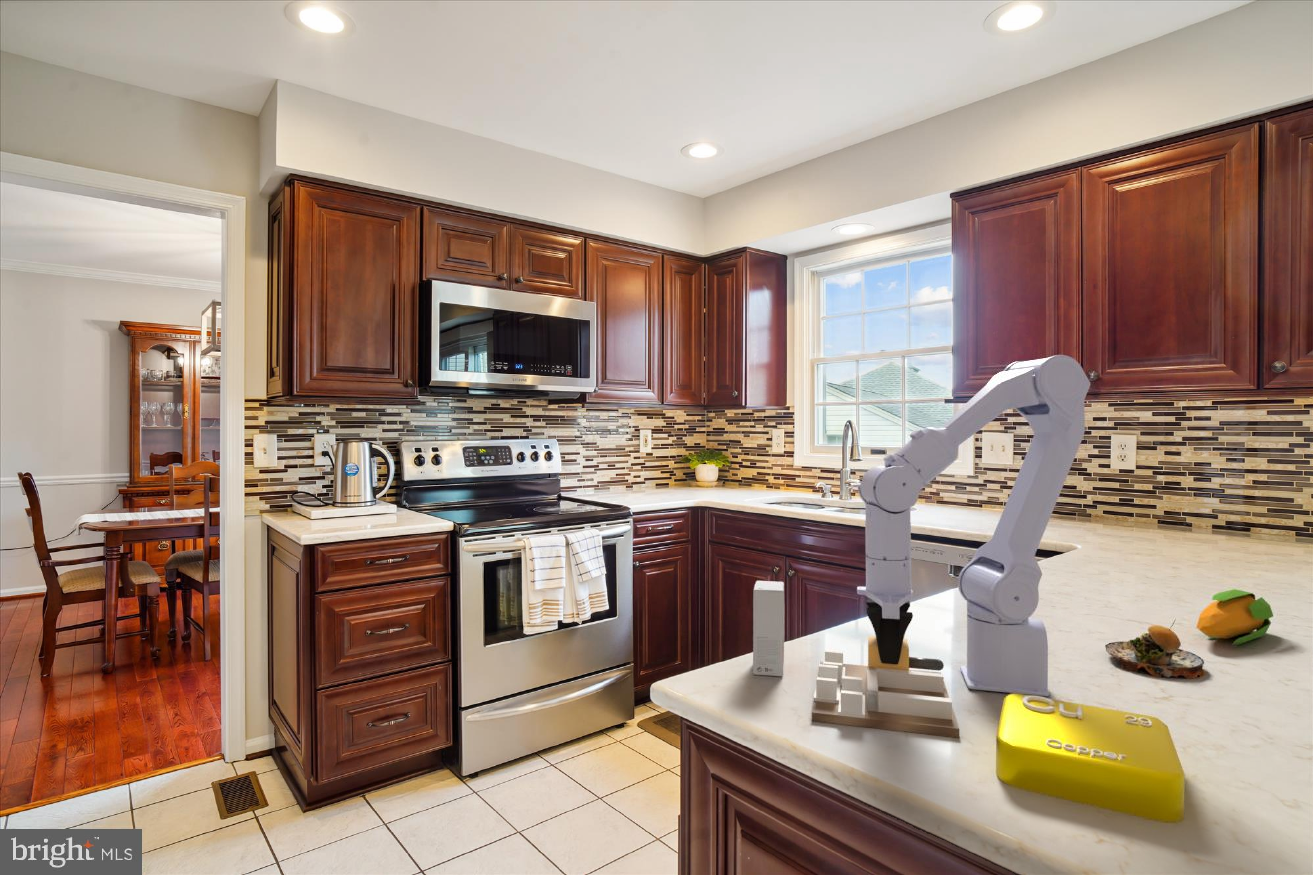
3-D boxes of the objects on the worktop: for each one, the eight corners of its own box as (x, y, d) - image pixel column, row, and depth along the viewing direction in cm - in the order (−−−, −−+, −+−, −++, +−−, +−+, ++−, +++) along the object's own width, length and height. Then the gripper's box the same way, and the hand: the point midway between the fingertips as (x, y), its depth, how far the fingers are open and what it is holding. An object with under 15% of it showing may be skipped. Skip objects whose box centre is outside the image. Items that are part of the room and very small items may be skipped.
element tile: (994, 785, 67) (994, 736, 67) (1004, 727, 80) (1005, 685, 79) (1188, 831, 59) (1188, 776, 59) (1165, 758, 72) (1165, 712, 72)
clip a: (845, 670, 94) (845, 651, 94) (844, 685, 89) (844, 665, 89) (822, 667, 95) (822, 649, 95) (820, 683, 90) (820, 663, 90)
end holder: (942, 689, 87) (942, 673, 87) (951, 719, 78) (951, 702, 78) (866, 681, 90) (866, 666, 90) (867, 710, 81) (867, 693, 81)
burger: (1147, 649, 106) (1148, 601, 106) (1227, 676, 95) (1227, 622, 95) (1084, 656, 104) (1084, 606, 103) (1158, 684, 92) (1158, 629, 92)
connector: (941, 675, 92) (941, 641, 91) (945, 686, 88) (945, 651, 88) (868, 668, 94) (868, 635, 94) (868, 678, 90) (868, 644, 90)
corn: (1281, 587, 113) (1235, 605, 102) (1284, 634, 113) (1238, 657, 102) (1225, 582, 119) (1176, 598, 108) (1228, 626, 119) (1179, 647, 108)
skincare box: (783, 677, 95) (783, 590, 94) (752, 675, 95) (752, 589, 95) (784, 662, 101) (784, 581, 100) (755, 660, 101) (755, 579, 101)
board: (941, 679, 93) (941, 672, 93) (959, 737, 76) (959, 728, 76) (820, 668, 98) (820, 661, 98) (811, 720, 81) (811, 712, 81)
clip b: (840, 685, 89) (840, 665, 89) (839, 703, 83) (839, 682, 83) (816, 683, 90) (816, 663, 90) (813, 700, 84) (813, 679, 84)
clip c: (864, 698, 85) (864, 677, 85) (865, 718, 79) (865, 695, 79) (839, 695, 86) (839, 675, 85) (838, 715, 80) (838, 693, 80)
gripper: (856, 546, 99) (857, 639, 100) (856, 566, 85) (857, 674, 86) (908, 547, 97) (909, 643, 98) (917, 568, 83) (917, 679, 84)
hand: (888, 658), depth 91 cm, fingers closed on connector, 3 cm apart
